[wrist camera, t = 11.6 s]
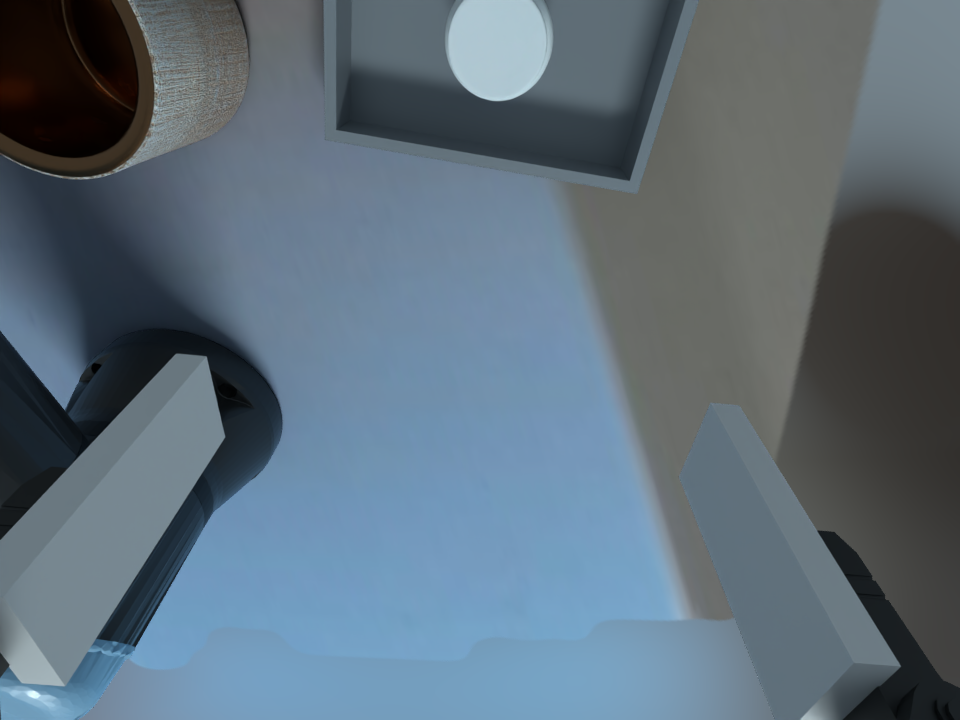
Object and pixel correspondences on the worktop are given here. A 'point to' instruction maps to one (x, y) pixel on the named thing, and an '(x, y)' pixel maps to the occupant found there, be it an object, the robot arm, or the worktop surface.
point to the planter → (115, 80)
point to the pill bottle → (498, 45)
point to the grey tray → (519, 121)
